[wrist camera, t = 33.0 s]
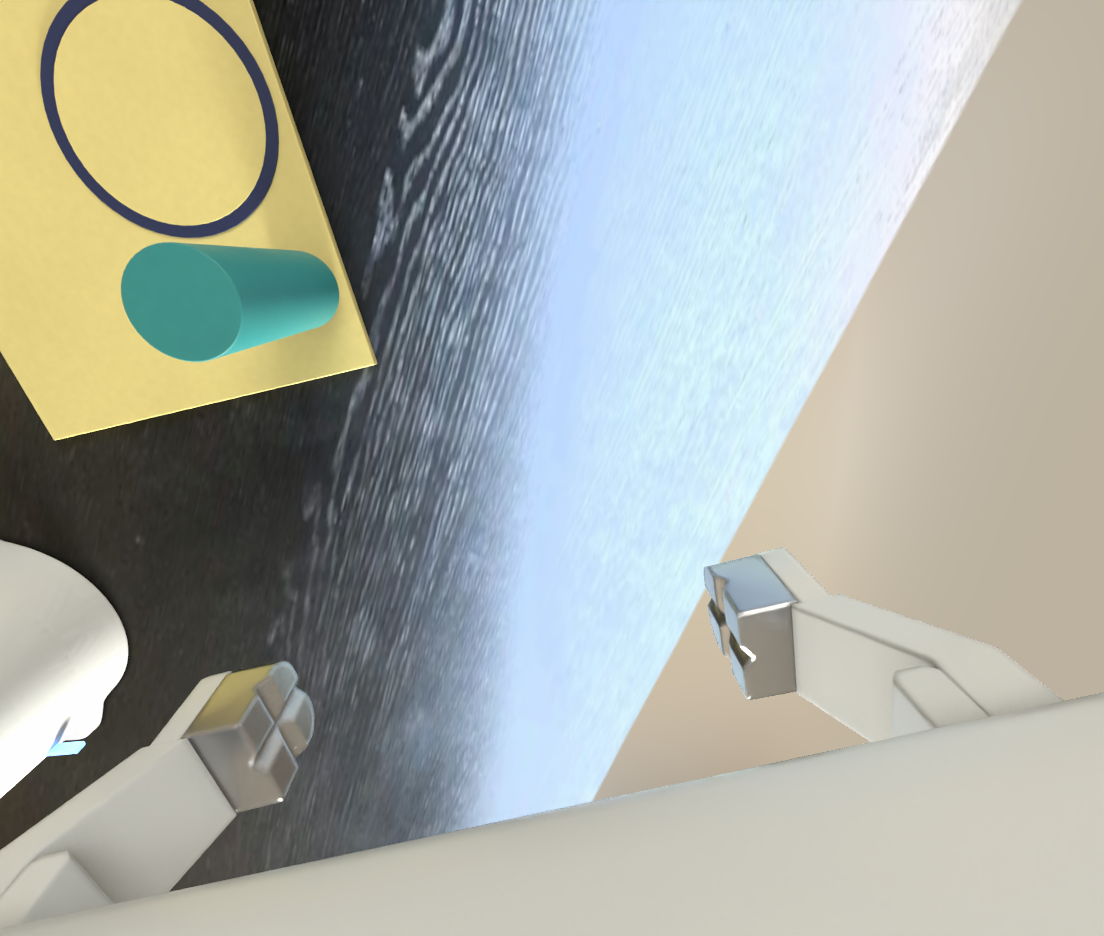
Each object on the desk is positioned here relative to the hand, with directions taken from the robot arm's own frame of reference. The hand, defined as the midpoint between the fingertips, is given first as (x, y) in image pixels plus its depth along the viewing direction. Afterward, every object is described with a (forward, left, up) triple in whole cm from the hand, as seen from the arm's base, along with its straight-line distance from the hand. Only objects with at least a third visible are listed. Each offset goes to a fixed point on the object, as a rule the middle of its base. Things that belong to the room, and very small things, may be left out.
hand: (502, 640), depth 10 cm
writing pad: (-18, +13, -24) cm, 33 cm away
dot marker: (-10, +8, -24) cm, 27 cm away
